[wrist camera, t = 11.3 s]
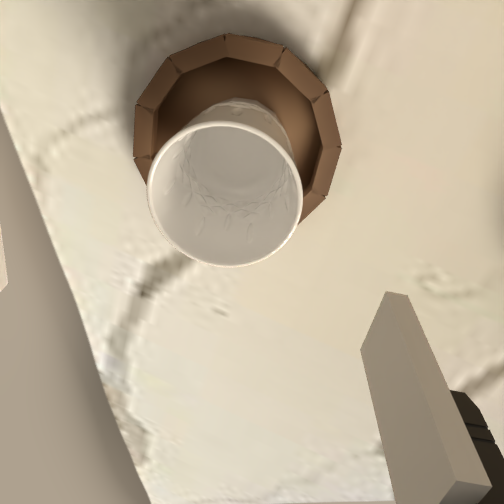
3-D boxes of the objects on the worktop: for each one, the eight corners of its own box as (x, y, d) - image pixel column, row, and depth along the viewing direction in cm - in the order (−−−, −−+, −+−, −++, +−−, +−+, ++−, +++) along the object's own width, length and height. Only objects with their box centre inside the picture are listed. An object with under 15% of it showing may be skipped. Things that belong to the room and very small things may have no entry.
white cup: (166, 161, 30) (121, 219, 22) (220, 62, 27) (193, 85, 18) (256, 216, 32) (248, 291, 24) (318, 130, 29) (335, 181, 20)
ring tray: (149, 14, 27) (138, 14, 25) (361, 60, 27) (367, 64, 25) (137, 210, 34) (129, 222, 32) (307, 244, 34) (308, 258, 32)
